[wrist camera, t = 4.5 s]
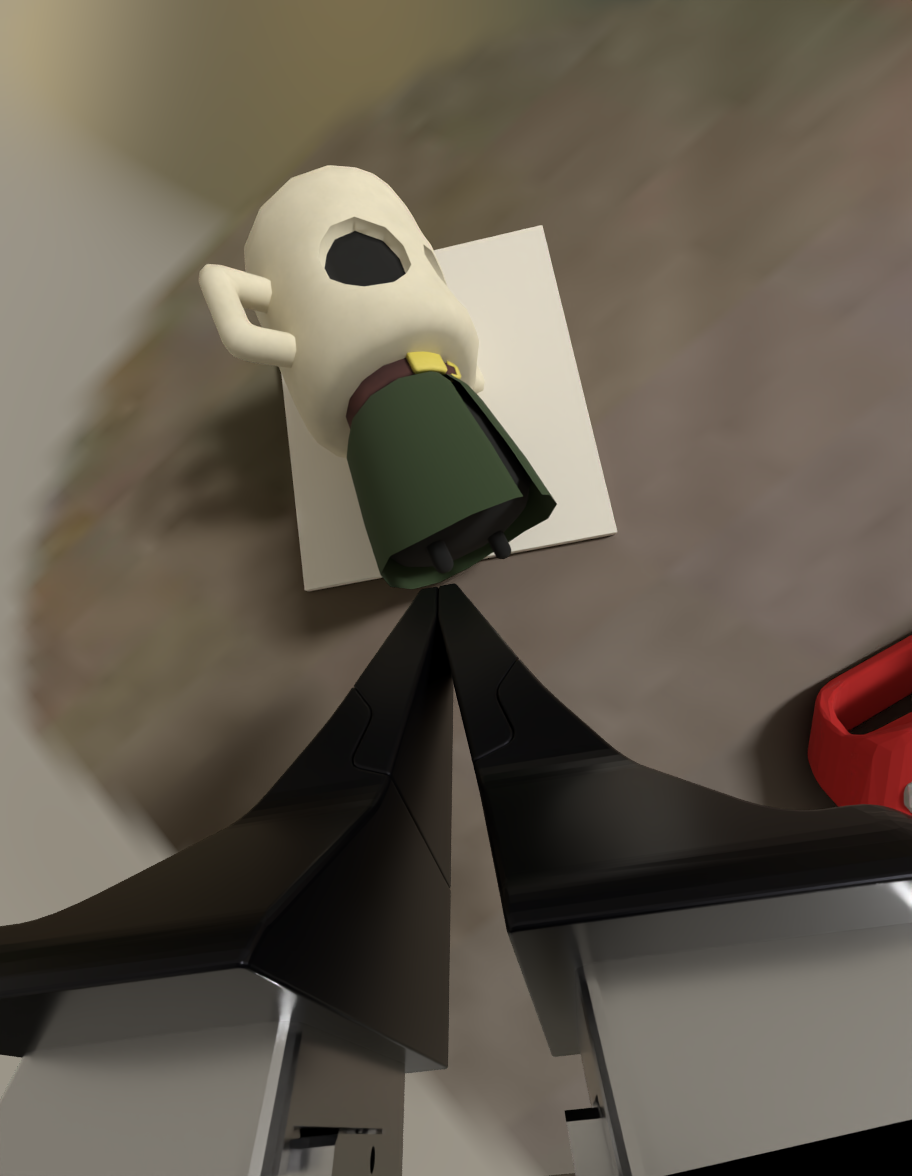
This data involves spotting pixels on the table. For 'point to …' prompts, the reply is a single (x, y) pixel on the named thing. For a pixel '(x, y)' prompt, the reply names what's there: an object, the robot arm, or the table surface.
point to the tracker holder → (874, 760)
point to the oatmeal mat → (512, 393)
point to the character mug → (380, 371)
